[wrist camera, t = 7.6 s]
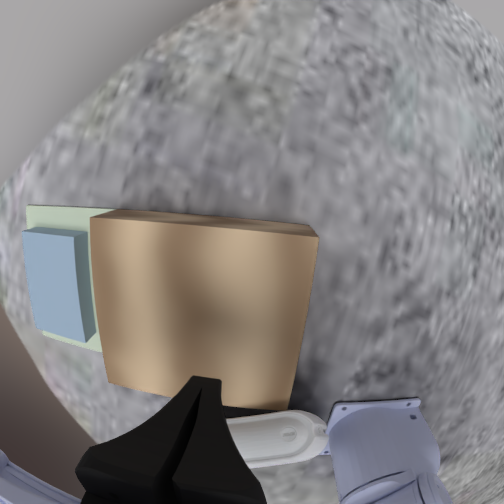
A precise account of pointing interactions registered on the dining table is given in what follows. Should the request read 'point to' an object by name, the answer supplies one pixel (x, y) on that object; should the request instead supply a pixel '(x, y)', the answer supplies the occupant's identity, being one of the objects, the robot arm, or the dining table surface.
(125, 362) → the light brown flat block
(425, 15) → the dining table surface
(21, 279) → the dining table surface
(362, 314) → the dining table surface
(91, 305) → the blue box
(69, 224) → the mat
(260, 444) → the photo printer
